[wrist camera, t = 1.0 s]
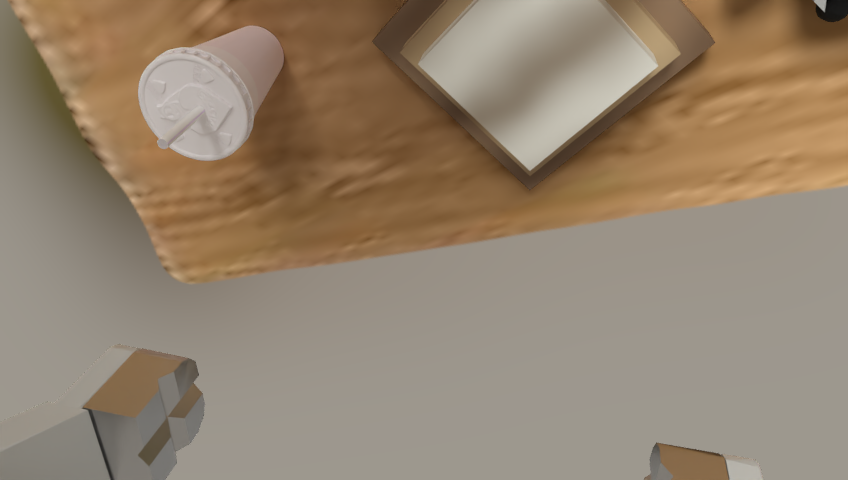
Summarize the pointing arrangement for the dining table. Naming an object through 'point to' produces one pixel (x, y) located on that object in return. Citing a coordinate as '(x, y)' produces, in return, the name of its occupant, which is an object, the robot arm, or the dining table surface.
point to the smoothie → (210, 92)
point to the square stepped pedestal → (540, 67)
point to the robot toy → (831, 9)
